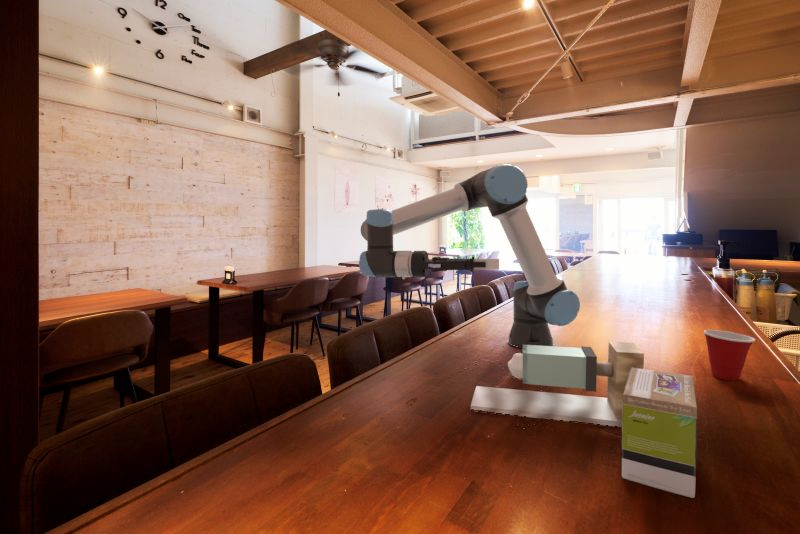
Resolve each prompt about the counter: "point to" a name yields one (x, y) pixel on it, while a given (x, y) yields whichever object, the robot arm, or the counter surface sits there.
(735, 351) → the plastic cup
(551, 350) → the sleeve
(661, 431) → the tea box
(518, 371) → the muffin
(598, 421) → the pipe stand
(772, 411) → the counter surface
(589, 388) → the dark grey square plate
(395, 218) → the robot arm
